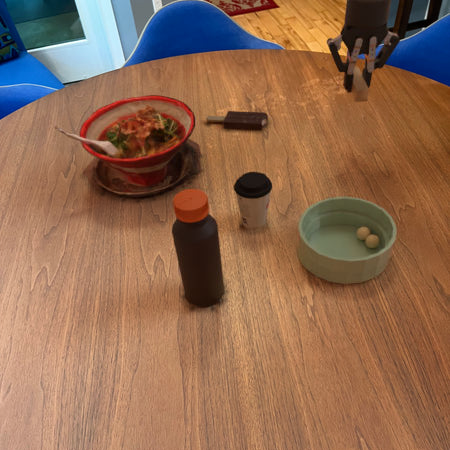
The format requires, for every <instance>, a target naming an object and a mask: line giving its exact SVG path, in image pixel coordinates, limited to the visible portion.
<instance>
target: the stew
mask: <svg viewBox="0 0 450 450" xmlns="http://www.w3.org/2000/svg"><path fill="white" fill-rule="evenodd" d="M195 127H196V115H195V112H194V111H192V109H191V108H190V107H189V106H188V105H187V104H186V103H185V102H184V101H182V100H179V99H176V98H174V97H170V96H165V95H158V94H156V95H155V94H148V95H141V96H136V97H135V96H132V97H128V98H127V97H126V98H122V99H119V100H116V101H114V102H112V103H109V104H106V105H104V106H101V107H99V108H98V109H96V110H95V111H93V112H91V114H90V115H89V116H88V117H87V118H86V120H85V121H83V123H82V125H81V126H80V130H79V132H78V133H79V135H77V134H74V133H70V132H68V131H65V130H63V129H62V128H61V127H57V126H54V129H56V130H57V131H58V132H60V133H62V134H63V135H65V136H66V137H67V138H70V139H73V140H76V141H78V142H80V144H81V146H82V148H83V149H84V151H86V152H87V153H88V154H90V155H91V156H93V157H95V158H93V160H92V161H91V162H90V163H89V164H88V165H86V167H85V168H84V169H83V170H82V175H83V176H85V177H86V178H87V179H88V182H89V184H90V186H91V187H92V188H94V189H95V190H96V191H98V192H99V193H100V194H105V193H107V194H108V195H110V196H113V197H116V198H121V199H123V198H124V199H128V200H145V199H152V198H156V197H159V196H163V195H165V194H166V193H169V192H172V191H174V190H176V189H177V188H178V187H180V186H182V185H184V184H185V183H186V182H188V181H190V180H191V179H192V178H193V176H198V175H199V174H201V171H202V165H201V161H200V156H201V155H202V154H201V146H200V144H198V143H197V142H195V141H194V140H192V139H190V137H191V135H192V134H193V132H194V130H195ZM168 177H171V180H170V181H169V183H168V184H166V185H163V186H162V187H160V188H157V189H153V188H152V189H151V188H148V187H159V186H160V184H164V182H165V180H166V179H167V178H168ZM113 179H119V180H120V181H124V182H122V184H123V185H124V186H125V187H122V188H121V189H120V188H119V187H118V186H116V185H115V184H114V183H118V181H117V180H115V181H114V180H113ZM113 182H114V183H113ZM128 185H133V186H138V187H145V188H147V189H145V190H143V189H142V190H131V189H129V188H126V186H128Z"/></svg>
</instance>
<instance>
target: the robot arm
mask: <svg viewBox="0 0 450 450" xmlns="http://www.w3.org/2000/svg"><path fill="white" fill-rule="evenodd" d="M391 5H392V0H346V3H345V12H344V20H343V21H344V23H343V27H342V29H341V30H340V32H339V35H337V36H336V37H334V38H333V37H332V38H331V37H329V38H327V40H326V44H327V47H328V49H329V52H330V54H331V57H332V59H333V61H334V64H335V66H336V68H337V70H338V72H339V73H344V75H343V82H342V85H343V88H344V91H346V93H347V94H350V93H351V90H352V83H353V78H354V74H353V72H354V68H355V67H356V64H357V63H358V59H359V56H361V55H364V67H363V68H362V72H361V74H362V76H363V78H364V80H365V82H366V84H367V86H368V88H369V89H370V87H371V82H372V76H373V72H374V71H375V70H377V69H383V68H384V66H385V65H386V64H387V62H388V60H389V59H390V57H391V56H392V54H393V53H394V51H395V49H396V47H397V46H398V45H399V43H400V42H401V38H400V37H399V36H400V35H398V34H397V33H396V32H395V31H389V27H388V21H389V16H390V10H391ZM382 42H383V43H384V44H383V45H382V47H381V48H380V50H379V52H378V53H377V51H376V50H377V49H378V47H379V46H380V45H381V44H382ZM342 43H344V45H345V47H346V49H347V51H346V58H345V62H344V61H343V60H342V58H341V54H340V52H339V51H340V50H341V49H342ZM376 53H377V55H376Z"/></svg>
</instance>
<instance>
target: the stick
mask: <svg viewBox="0 0 450 450" xmlns="http://www.w3.org/2000/svg"><path fill="white" fill-rule="evenodd" d="M353 74H354V78H353V83H352V90H351V97H352V99H353V101H354V103H362V102H363V103H364V102H368V98H369V93H370V87H369V88H368V86H367V84H366V82H365V80H364V78H363V76H362V72H361V70H360V67H359V66H355V68H354V72H353Z"/></svg>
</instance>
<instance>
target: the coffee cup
mask: <svg viewBox="0 0 450 450" xmlns="http://www.w3.org/2000/svg"><path fill="white" fill-rule="evenodd" d="M272 189H273V182H272V180H271V179H270V177H268V176H267V174H266V173H263V172H259V171H249V172H248V171H247V172H245V173H243V174H242V175H240V176H239V177H238V178H237V179H236V180H235V183H234V185H233V190H234V192H235V196H236V199H237V205H238V210H239V213H240V219H241V223H242V225H243V226H244V227H245V228H248V229H251V230H257V229H262V228H263V227H264V226H265V225H266V224H267V219H268V212H269V205H270V199H271V191H272Z"/></svg>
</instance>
